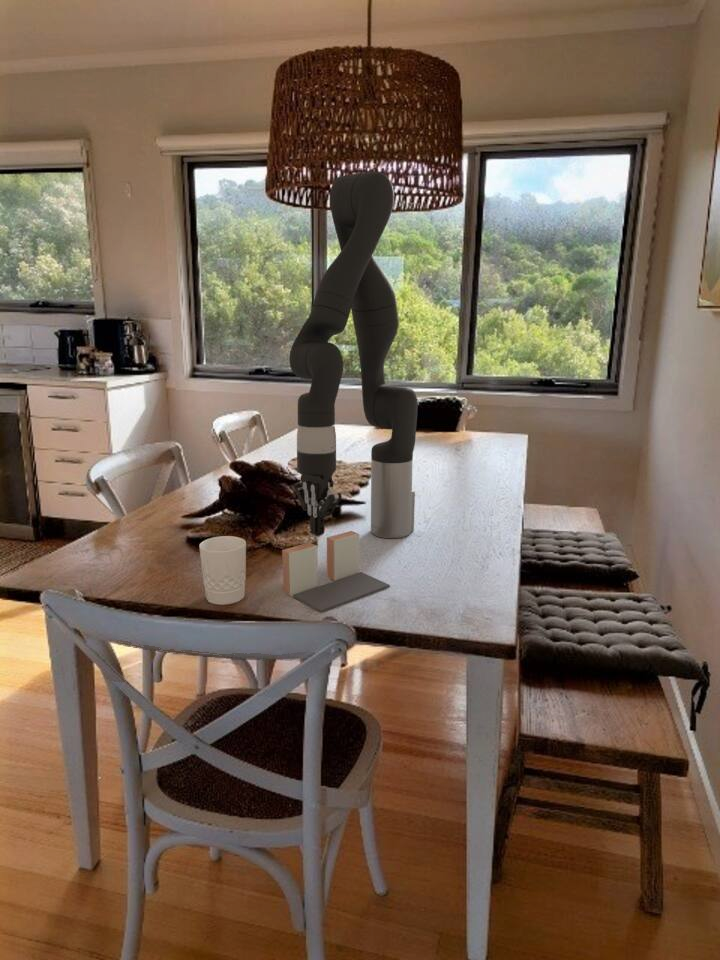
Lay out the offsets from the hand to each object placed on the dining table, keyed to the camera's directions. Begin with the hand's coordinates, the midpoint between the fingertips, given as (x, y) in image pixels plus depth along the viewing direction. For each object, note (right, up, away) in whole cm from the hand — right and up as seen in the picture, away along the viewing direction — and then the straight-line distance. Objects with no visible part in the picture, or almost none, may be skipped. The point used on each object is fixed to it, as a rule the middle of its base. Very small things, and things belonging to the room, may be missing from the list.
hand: (317, 533), depth 126 cm
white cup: (-15, -10, -14) cm, 23 cm away
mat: (+5, -9, -11) cm, 16 cm away
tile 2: (+5, -8, -4) cm, 10 cm away
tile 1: (-2, -9, -10) cm, 14 cm away
